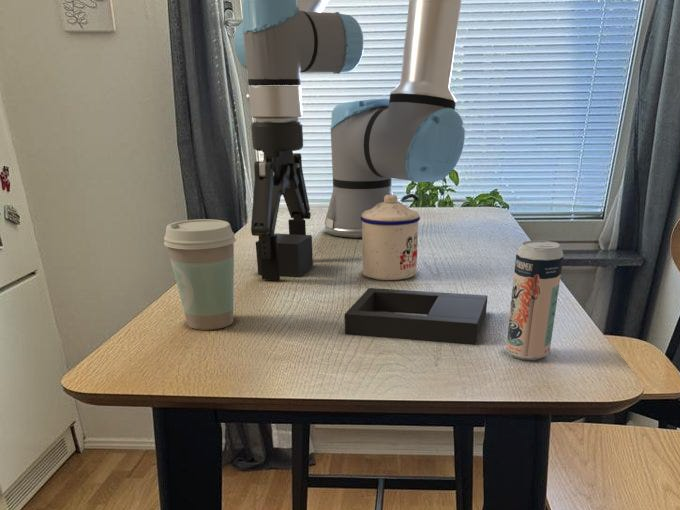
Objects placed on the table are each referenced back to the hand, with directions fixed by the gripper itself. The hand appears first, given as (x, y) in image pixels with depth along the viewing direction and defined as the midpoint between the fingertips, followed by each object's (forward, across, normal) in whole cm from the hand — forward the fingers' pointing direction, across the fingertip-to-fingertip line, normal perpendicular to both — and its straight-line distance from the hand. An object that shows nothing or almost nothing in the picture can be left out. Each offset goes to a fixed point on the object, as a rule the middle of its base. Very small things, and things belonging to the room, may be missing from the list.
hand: (285, 269), depth 109 cm
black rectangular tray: (0, +22, +26) cm, 34 cm away
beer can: (0, +30, +40) cm, 50 cm away
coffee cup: (0, +28, 0) cm, 28 cm away
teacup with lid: (0, -3, +17) cm, 17 cm away
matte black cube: (0, 0, 0) cm, 0 cm away
